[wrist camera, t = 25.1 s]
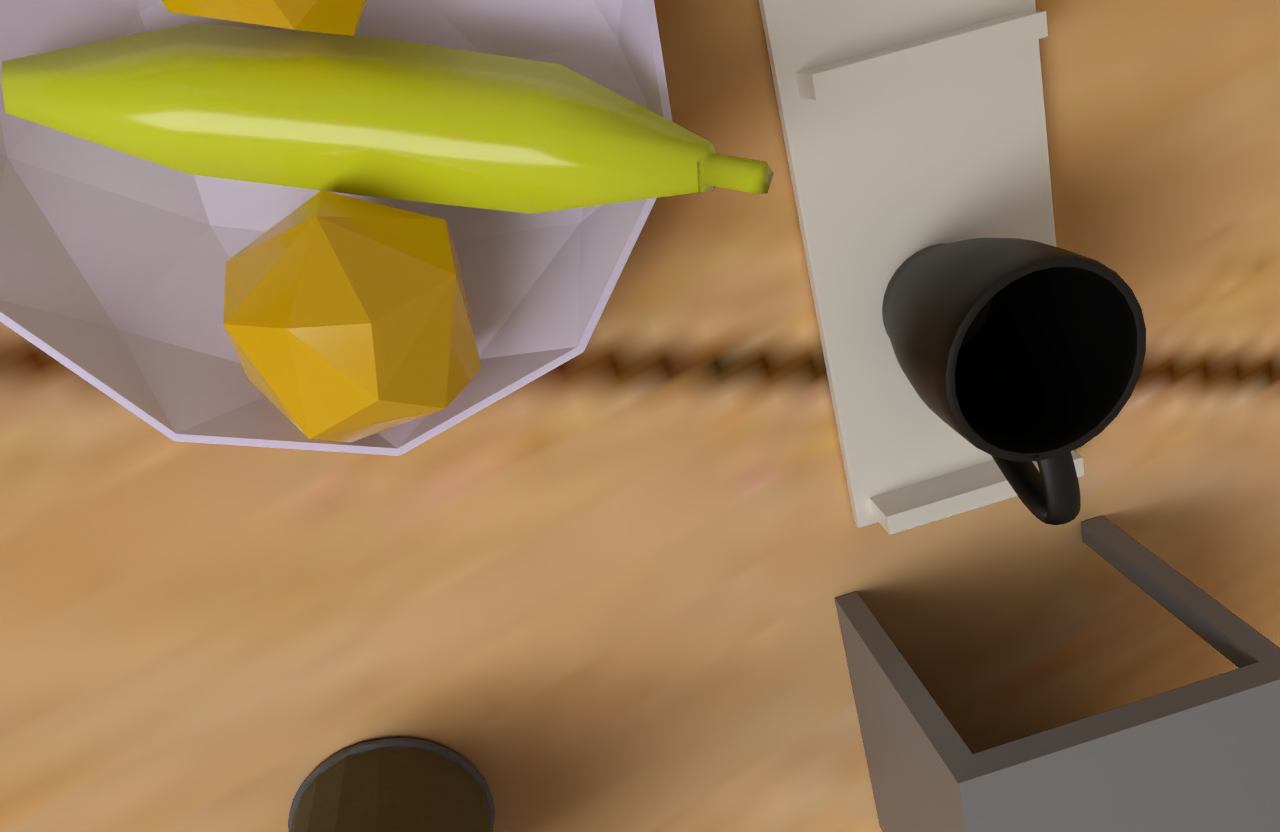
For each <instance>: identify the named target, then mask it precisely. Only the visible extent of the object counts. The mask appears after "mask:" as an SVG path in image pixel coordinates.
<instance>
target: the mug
mask: <svg viewBox="0 0 1280 832" xmlns="http://www.w3.org/2000/svg"><path fill="white" fill-rule="evenodd" d="M882 316H883V324H884V327H885V330H886V333H887V335H888V336H889V338H890V341H891V344H892V347H893V350H894V353H895V355H896V358H897V361H898V363H899V365H900V367H901V369H902V371H903V372H904V374H905V375H906V377H907V378H908V380H909V382H910V383H911V385H912V386H913V388H914V389H915V391H916V392H917V394H918V395H919V397H920V398H921V399H922V400H923V402H924V403H925V404H926V405H927V406H928V408H929V409H931V410H932V411H933V412H934V413H935V414H936V415H937V416H938V417H939V418H941V419H942V420H943V421H944V422H945V423H946V424H948V425H949V426H950V427H951V428H952V429H953V430H955V431H956V432H957V433H958V434H960V435H961V436H962V437H963V438H965V439H966V440H967V441H968V442H970V443H971V444H972V445H974V446H975V447H976V448H978V449H980V450H982V451H984V452H986V453H988V454H990V455H991V456H992V458H993V459H994V461H995V462H996V464H997V465H998V467H999V469H1000V470H1001V472H1002V473H1003V475H1004V476H1005V478H1006V479H1007V481H1008V482H1009V484H1010V485H1011V487H1012V488H1013V490H1014V491H1015V492H1016V494H1017V495H1018V497H1019V498H1020V499H1021V501H1022V502H1023V503H1024V504H1025V505H1026V507H1027V508H1028V509H1029V510H1030V511H1031V512H1032V513H1033V514H1034V515H1035V516H1036V517H1037V518H1038V519H1039V520H1041V521H1042V522H1044V523H1046V524H1052V525H1060V524H1065V523H1068V522H1070V521H1071V520H1073V519H1075V517H1076V516H1077V515H1078V513H1079V511H1080V489H1079V483H1078V478H1077V473H1076V469H1075V465H1074V461H1073V457H1072V454H1071V451H1072V450H1075V449H1077V448H1079V447H1081V446H1083V445H1084V444H1085V443H1087V442H1088V441H1090V440H1091V439H1092V438H1094V437H1095V436H1097V435H1098V434H1099V433H1101V432H1102V431H1103V430H1104V429H1105V428H1106V427H1107V426H1108V425H1109V424H1110V423H1111V422H1112V421H1113V420H1114V419H1115V417H1116V416H1117V415H1118V414H1119V412H1120V411H1121V409H1122V408H1123V407H1124V405H1125V404H1126V402H1127V401H1128V399H1129V398H1130V396H1131V394H1132V392H1133V390H1134V388H1135V385H1136V383H1137V381H1138V379H1139V376H1140V374H1141V369H1142V365H1143V361H1144V356H1145V352H1146V328H1145V323H1144V319H1143V314H1142V310H1141V307H1140V305H1139V303H1138V301H1137V299H1136V297H1135V295H1134V293H1133V291H1132V289H1131V288H1130V287H1129V286H1128V285H1127V284H1126V283H1125V282H1124V280H1123V279H1122V278H1121V277H1120V276H1119V275H1118V274H1117V273H1116V272H1115V271H1113V270H1111V269H1110V268H1108V267H1106V266H1105V265H1103V264H1102V263H1100V262H1098V261H1096V260H1093V259H1090V258H1087V257H1084V256H1081V255H1079V254H1076V253H1073V252H1070V251H1067V250H1064V249H1061V248H1058V247H1055V246H1051V245H1048V244H1044V243H1041V242H1037V241H1033V240H1026V239H1018V238H974V239H968V240H962V241H957V242H953V243H948V244H938V245H933V246H929V247H927V248H924V249H922V250H920V251H918V252H916V253H915V254H913V255H912V256H911V257H909V258H908V259H906V260H905V261H904V262H903V263H902V265H901V266H900V267H899V268H898V269H897V270H896V271H895V273H894V275H893V276H892V278H891V280H890V281H889V283H888V286H887V288H886V291H885V294H884V298H883V305H882ZM1032 461H1037V464H1038V468H1039V470H1038V469H1037V467H1036V466H1035V465H1034V463H1033V462H1032ZM1039 471H1040V472H1039Z"/></svg>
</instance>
